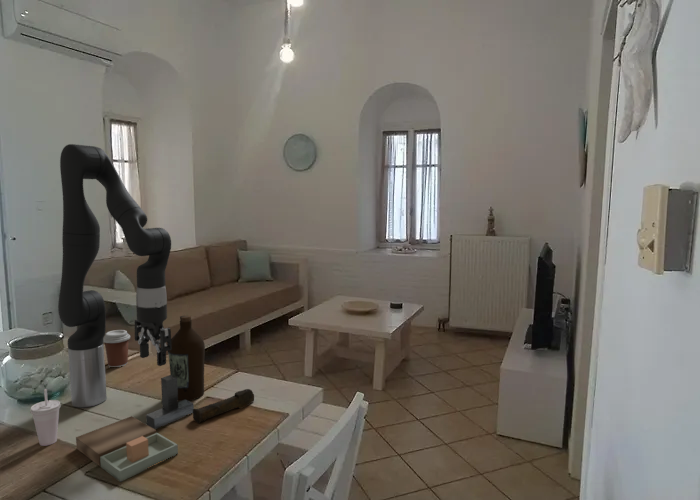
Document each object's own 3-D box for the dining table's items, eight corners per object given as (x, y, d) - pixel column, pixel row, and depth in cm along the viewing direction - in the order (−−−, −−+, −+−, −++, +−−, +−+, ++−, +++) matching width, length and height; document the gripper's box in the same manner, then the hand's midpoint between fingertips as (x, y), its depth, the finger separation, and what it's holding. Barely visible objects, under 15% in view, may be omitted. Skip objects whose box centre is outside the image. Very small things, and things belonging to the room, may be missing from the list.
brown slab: (76, 448, 117) (75, 437, 116) (132, 426, 128) (131, 416, 127) (99, 466, 109) (99, 454, 109) (156, 441, 120) (155, 430, 120)
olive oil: (185, 385, 155) (183, 310, 152) (213, 390, 151) (210, 313, 148) (162, 398, 145) (158, 318, 142) (190, 404, 141) (187, 322, 138)
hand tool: (198, 426, 129) (198, 409, 128) (192, 420, 132) (191, 404, 131) (258, 405, 142) (258, 390, 141) (251, 400, 145) (251, 386, 144)
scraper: (146, 425, 129) (144, 382, 127) (185, 409, 138) (184, 369, 137) (154, 429, 126) (152, 386, 125) (193, 413, 136) (192, 372, 134)
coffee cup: (119, 358, 178) (117, 327, 177) (137, 362, 175) (135, 330, 173) (97, 366, 170) (95, 334, 169) (116, 370, 167) (114, 337, 165)
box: (100, 467, 109) (100, 456, 109) (157, 442, 120) (157, 432, 120) (120, 481, 104) (119, 471, 103) (177, 454, 115) (177, 444, 114)
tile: (126, 442, 111) (131, 446, 110) (142, 436, 114) (148, 439, 113) (126, 458, 112) (132, 462, 110) (143, 451, 115) (148, 455, 113)
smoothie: (41, 451, 115) (36, 396, 114) (27, 443, 119) (23, 390, 117) (68, 439, 121) (64, 387, 119) (55, 432, 124) (51, 381, 122)
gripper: (124, 300, 128) (126, 358, 131) (153, 310, 120) (154, 371, 122) (150, 296, 134) (151, 351, 136) (179, 305, 126) (180, 363, 128)
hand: (153, 361), depth 129 cm, fingers open, 8 cm apart
